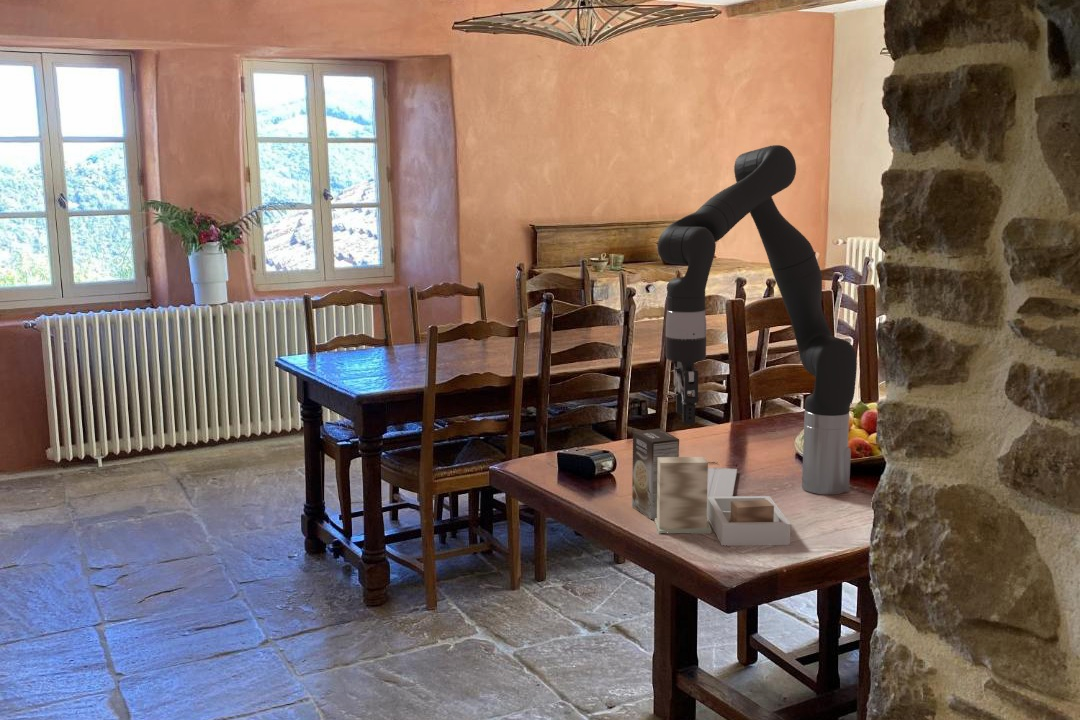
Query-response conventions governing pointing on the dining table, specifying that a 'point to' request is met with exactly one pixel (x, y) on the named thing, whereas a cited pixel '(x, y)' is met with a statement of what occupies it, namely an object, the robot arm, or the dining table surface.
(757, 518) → the walnut offcut upper
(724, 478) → the baseboard molding
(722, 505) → the white open tray
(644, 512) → the coffee box
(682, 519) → the pale wood block
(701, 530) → the felt mat
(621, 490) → the dining table surface
